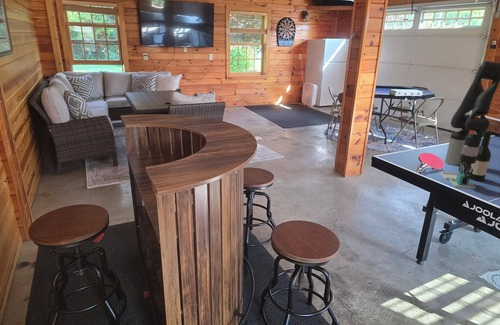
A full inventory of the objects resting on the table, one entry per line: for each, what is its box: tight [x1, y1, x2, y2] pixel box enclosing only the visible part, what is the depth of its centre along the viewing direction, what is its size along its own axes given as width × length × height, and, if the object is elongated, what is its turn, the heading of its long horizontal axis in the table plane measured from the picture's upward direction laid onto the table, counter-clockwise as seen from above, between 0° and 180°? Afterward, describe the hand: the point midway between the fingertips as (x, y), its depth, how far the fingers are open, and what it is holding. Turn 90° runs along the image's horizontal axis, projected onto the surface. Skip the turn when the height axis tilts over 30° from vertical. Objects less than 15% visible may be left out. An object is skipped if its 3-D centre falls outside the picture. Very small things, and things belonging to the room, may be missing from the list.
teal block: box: [456, 172, 471, 185], centre depth 185 cm, size 5×5×5 cm
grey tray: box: [440, 171, 458, 181], centre depth 196 cm, size 10×10×1 cm
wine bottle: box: [470, 129, 492, 182], centre depth 189 cm, size 8×8×30 cm
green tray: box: [449, 179, 476, 190], centre depth 186 cm, size 10×10×1 cm
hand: (462, 181), depth 185 cm, fingers closed on teal block, 5 cm apart
